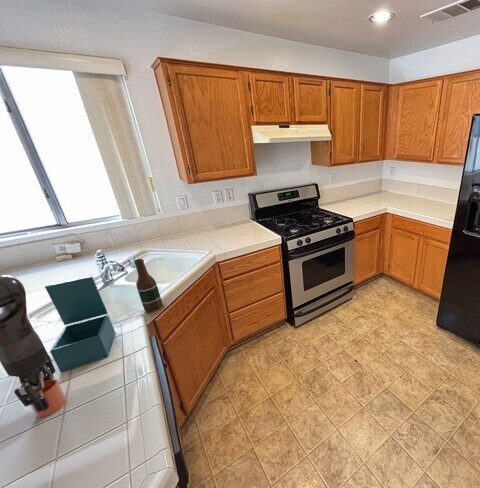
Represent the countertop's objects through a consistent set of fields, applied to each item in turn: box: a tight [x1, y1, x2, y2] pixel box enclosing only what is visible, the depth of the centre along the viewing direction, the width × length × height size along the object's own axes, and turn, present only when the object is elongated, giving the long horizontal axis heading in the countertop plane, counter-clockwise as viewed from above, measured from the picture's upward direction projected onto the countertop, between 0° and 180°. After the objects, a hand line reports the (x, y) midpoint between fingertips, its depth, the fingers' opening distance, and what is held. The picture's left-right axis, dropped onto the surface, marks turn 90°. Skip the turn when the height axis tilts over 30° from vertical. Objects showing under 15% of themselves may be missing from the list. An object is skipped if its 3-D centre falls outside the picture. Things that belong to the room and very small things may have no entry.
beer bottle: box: [133, 258, 163, 313], centre depth 117 cm, size 8×8×24 cm
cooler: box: [49, 314, 116, 373], centre depth 94 cm, size 16×13×9 cm
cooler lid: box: [44, 275, 109, 326], centre depth 97 cm, size 16×13×5 cm
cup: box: [30, 378, 67, 418], centre depth 72 cm, size 6×6×7 cm
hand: (48, 400), depth 73 cm, fingers closed on cup, 6 cm apart
